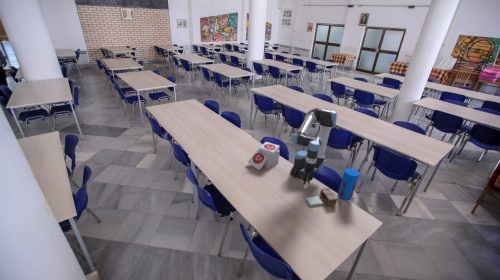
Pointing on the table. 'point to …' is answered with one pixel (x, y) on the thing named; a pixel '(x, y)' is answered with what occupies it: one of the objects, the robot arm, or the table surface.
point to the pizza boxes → (265, 156)
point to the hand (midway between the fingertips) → (305, 187)
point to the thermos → (348, 184)
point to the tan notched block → (329, 196)
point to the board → (314, 201)
